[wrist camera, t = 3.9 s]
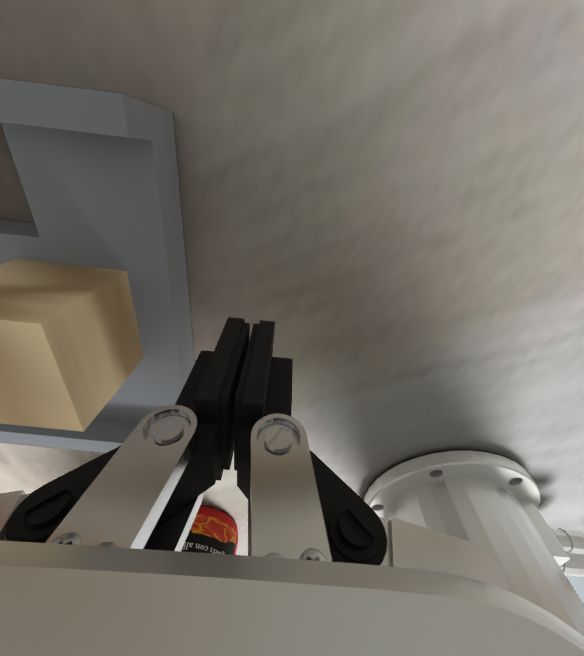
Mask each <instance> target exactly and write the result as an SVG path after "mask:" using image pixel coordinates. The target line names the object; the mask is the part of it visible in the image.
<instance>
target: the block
mask: <svg viewBox="0 0 584 656" xmlns="http://www.w3.org/2000/svg"><path fill="white" fill-rule="evenodd" d="M143 358H144V355H143V350H142V345H141V340H140V335H139V330H138V325H137V320H136V315H135V310H134V305H133V300H132V295H131V290H130V285H129V279H128V274H127V271H123V270H114V269H105V268H96V267H87V266H78V265H69V264H59V263H50V262H41V261H32V260H23V259H16V260H13V261H10V262H7V263H4V264H1V265H0V423H1V424H11V425H21V426H31V427H42V428H52V429H62V430H72V431H82V432H84V431H85V429H86V428H87V427H88V426H89V424H90V423H91V422H92V421H93V420H94V418H95V417H96V416H97V415H98V413H99V412H100V411H101V410H102V409H103V407H104V406H105V405H106V404H107V402H108V401H109V400H110V399H111V397H112V396H113V395H114V394H115V393H116V391H117V390H118V389H119V388H120V386H121V385H122V384H123V383H124V382H125V380H126V379H127V378H128V377H129V375H130V374H131V373H132V372H133V371H134V369H135V368H136V367H137V366H138V364H139V363H140V362H141V361H142V359H143Z"/></svg>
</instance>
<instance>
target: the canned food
mask: <svg viewBox="0 0 584 656" xmlns="http://www.w3.org/2000/svg"><path fill="white" fill-rule="evenodd" d="M237 544H238V531H237V526H236V523H235V522H234V520H233V519H232V518H231V517H230V516H228V515H227V514H225V513H224V512H222V511H220V510H218V509H215V508H212V507H208V506H203V505H200V507H199V510H198V512H197V514H196V517H195V519H194V522H193V524H192V526H191V529H190V531H189V533H188V536H187V538H186V540H185V543H184V545H183V548H182V550H181V552H195V553H210V554H226V555H236V550H237Z"/></svg>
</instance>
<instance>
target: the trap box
mask: <svg viewBox="0 0 584 656" xmlns="http://www.w3.org/2000/svg"><path fill="white" fill-rule="evenodd" d="M0 123H1V125H2V128H3V131H4V134H5V137H6V140H7V143H8V146H9V149H10V151H11V154H12V157H13V160H14V163H15V166H16V169H17V172H18V175H19V178H20V181H21V184H22V187H23V190H24V193H25V196H26V199H27V202H28V205H29V207H30V210H31V213H32V216H33V219H34V222H35V223H29V222H21V221H12V220H3V219H0V265H1V264H4V263H7V262H10V261H13V260H16V259H23V260H32V261H41V262H50V263H59V264H69V265H78V266H87V267H96V268H105V269H114V270H123V271H127V274H128V279H129V285H130V290H131V295H132V300H133V305H134V310H135V315H136V320H137V325H138V330H139V335H140V340H141V345H142V350H143V355H144V358H143V359H142V361H141V362H140V363H139V364H138V366H137V367H136V368H135V369H134V371H133V372H132V373H131V374H130V375H129V377H128V378H127V379H126V380H125V382H124V383H123V384H122V385H121V386H120V388H119V389H118V390H117V391H116V393H115V394H114V395H113V396H112V397H111V399H110V400H109V401H108V402H107V404H106V405H105V406H104V407H103V409H102V410H101V411H100V412H99V413H98V415H97V416H96V417H95V418H94V420H93V421H92V422H91V423H90V424H89V426H88V427H87V428H86V429H85V431H84V432H82V431H72V430H62V429H52V428H42V427H31V426H21V425H11V424H1V423H0V443H8V444H18V445H28V446H38V447H48V448H59V449H69V450H79V451H89V452H100V453H107V452H109V451H111V450H113V449H115V448H117V447H119V446H121V445H122V444H123V443H124V442H125V440H126V439H127V438H128V437H129V435H130V434H131V433H132V431H133V430H134V429H135V428H136V426H137V425H138V424H139V422H140V421H141V420H142V419H143V418H144V417H145V416H146V415H147V414H149V413H150V412H152V411H154V410H155V409H158V408H161V407H163V406H169V405H175V403H176V401H177V399H178V397H179V395H180V393H181V391H182V389H183V387H184V385H185V383H186V381H187V379H188V377H189V375H190V373H191V370H192V368H193V366H194V364H195V359H194V348H193V336H192V325H191V313H190V302H189V290H188V279H187V268H186V256H185V245H184V233H183V222H182V211H181V199H180V188H179V176H178V165H177V154H176V142H175V131H174V119H173V112H170V111H167V110H165V109H162V108H159V107H157V106H154V105H151V104H149V103H146V102H143V101H141V100H138V99H135V98H132V97H130V96H127V95H124V94H122V93H114V92H106V91H97V90H89V89H81V88H73V87H65V86H57V85H49V84H41V83H32V82H24V81H16V80H8V79H0Z"/></svg>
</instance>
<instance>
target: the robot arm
mask: <svg viewBox="0 0 584 656" xmlns="http://www.w3.org/2000/svg"><path fill="white" fill-rule="evenodd" d="M274 329H275V322H272V321H262V320H260V323H259V324H254V325H253V329H252V333H251V337H250V341H249V333H250V324H249V323H244V319H241V318H231V317H229V318H228V319H227V322H226V324H225V327H224V329H223V331H222V334H221V336H220V339H219V341H218V343H217V346H216V348H215V350H214V352H213V351H201V352H200V354H199V356H198V358H197V360H196V362H195V364H194V366H193V368H192V370H191V373H190V375H189V377H188V379H187V381H186V383H185V385H184V387H183V389H182V391H181V393H180V395H179V397H178V399H177V401H176V403H175V405H169V406H163V407H161V408H158V409H155V410H154V411H152V412H150V413H149V414H147V415H146V416H145V417H144V418H143V419H142V420H141V421H140V422H139V424H138V425H137V426H136V428H135V429H134V430H133V431H132V433H131V434H130V435H129V437H128V438H127V439H126V440H125V442H124V443H123V444H122V445H121V446H119V447H117V448H115V449H113V450H111V451H109V452H107V453H105V454H103V455H101V456H99V457H97V458H95V459H93V460H92V461H90V462H88V463H86V464H84V465H82V466H80V467H78V468H76V469H74V470H72V471H70V472H68V473H66V474H64V475H62V476H61V477H59V478H57V479H55V480H53V481H51V482H49V483H47V484H45V485H43V486H42V487H40V488H39V489H37V490H35V491H34V492H32V493H31V494H25V492H24V491H23V490H22V491H15V492H8V493H1V494H0V656H584V604H583V602H582V601H581V599H580V598H579V596H578V594H577V593H576V591H575V590H574V588H573V587H572V585H571V583H570V582H569V580H568V579H567V577H566V575H567V576H578V577H579V576H580V577H584V534H583V533H582V532H580V531H578V530H571V529H561V528H559V529H552V528H550V527H549V526H548V524H547V523H546V521H545V520H544V518H543V517H542V515H541V514H540V512H539V511H538V510H537V509H538V506H539V504H540V491H539V489H538V487H537V485H536V483H535V482H534V481H533V479H532V478H531V477H530V475H529V474H528V473H527V471H526V470H525V469H524V468H523V467H521V466H520V465H519V464H517V463H516V462H514V461H512V460H510V459H508V458H505V457H503V456H499V455H495V454H491V453H487V452H479V451H469V450H466V451H446V452H439V453H432V454H428V455H424V456H421V457H417V458H414V459H411V460H409V461H406V462H403V463H401V464H399V465H397V466H395V467H393V468H392V469H390V470H388V471H386V472H385V473H384V474H383V475H381V476H380V477H379V478H377V479H376V481H375V482H374V483H373V484H372V485H371V486H370V487H369V489H368V491H367V493H366V495H365V497H364V500H362V499H361V498H360V497H359V496H358V495H357V494H356V493H355V492H354V491H353V490H352V489H351V488H350V487H349V486H348V485H347V484H346V483H344V482H343V481H342V480H341V479H340V478H339V477H338V476H337V475H336V474H335V473H334V472H333V471H332V470H331V469H330V468H329V467H327V466H326V465H325V464H324V463H323V462H322V461H321V460H320V459H319V458H318V457H317V456H316V455H315V454H314V453H313V452H312V451H310V450H309V445H308V440H307V435H306V432H305V430H304V427H303V426H302V425H301V424H300V422H299V421H297V420H296V419H295V418H293V417H291V403H292V359H289V358H278V357H272V353H273V341H274ZM233 452H234V470H237V486H238V487H239V488H240V490H241V491H242V492H243V494H244V495H245V496H246V498H247V499H248V556H241V555H226V554H210V553H195V552H181V550H182V548H183V545H184V543H185V540H186V538H187V536H188V533H189V531H190V529H191V526H192V524H193V522H194V519H195V517H196V514H197V512H198V510H199V507H200V505H201V503H202V500H203V497H204V491H206V490H207V489H209V488H210V487H211V486H213V485H214V484H215V482H216V480H221V477H222V473H223V469H225V470H229V469H230V466H231V461H232V456H233Z"/></svg>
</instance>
